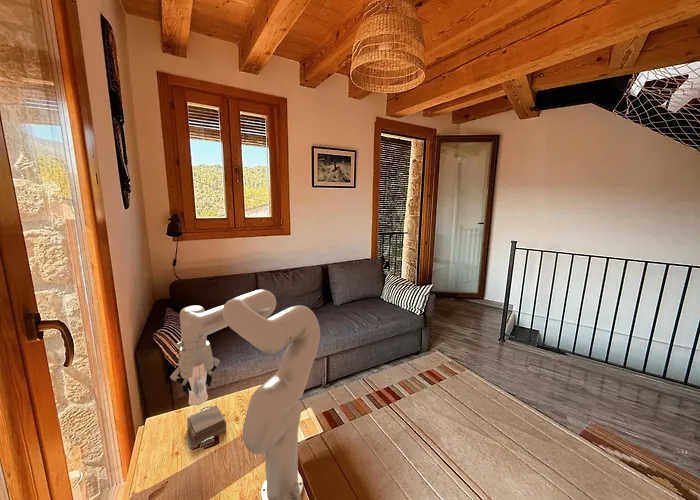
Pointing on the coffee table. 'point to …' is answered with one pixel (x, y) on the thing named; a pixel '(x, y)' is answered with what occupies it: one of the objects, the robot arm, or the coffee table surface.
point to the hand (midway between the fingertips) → (197, 387)
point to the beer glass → (197, 385)
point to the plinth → (206, 424)
